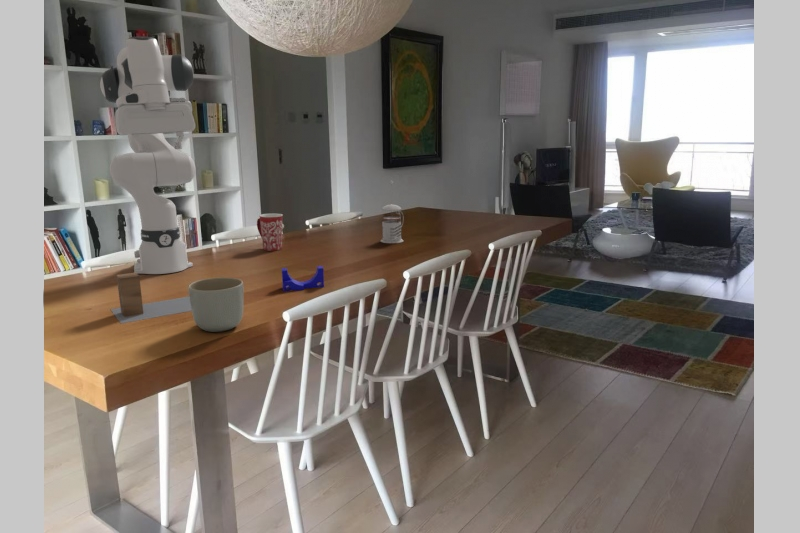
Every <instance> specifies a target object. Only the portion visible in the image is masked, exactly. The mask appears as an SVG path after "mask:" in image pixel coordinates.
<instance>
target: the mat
mask: <svg viewBox="0 0 800 533" xmlns="http://www.w3.org/2000/svg"><path fill="white" fill-rule="evenodd" d="M142 304H143V313H144V314H139V315H134V316H128V317H124V316H123V314H122V313H121V307H115V308H111V309H110V311H111V312H112V313H113V315H114V316H115V318H116V319H117V320H118V322H119V323H120V324H126V323H131V322H137V321H141V320H142V321H144V320H147V319H154V318H155V319H156V318H159V317H165V316H170V315H175V314H181V313H189V312H192V309H191V304H190V298H189V295H188V296H183V297H178V298H172V299H171V298H169V299H164V300H160V301H153V302H147V303H142Z"/></svg>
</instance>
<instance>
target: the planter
mask: <svg viewBox="0 0 800 533" xmlns="http://www.w3.org/2000/svg"><path fill="white" fill-rule="evenodd" d="M187 287H188V288H187V290H188V296H189V298H190V304H191V309H192V311H191V313H192V317H193V321H194V323H195V325H196V327H197V326H198V328H200V329H201V330H203V331H206V332H209V333H210V332H211V333H220V332H225V331H226V332H227V331H230V330H232V329H234V328H235V327H237V326H238V325H239V324H240V322H241V321H242V319H243V315H244V282H243V280H242V279H241V278H236V277H224V276H223V277H222V276H221V277H220V276H219V277H211V278H204V279H199V280H195V281H192V282H191V283H190V284H189V285H188V286H187Z"/></svg>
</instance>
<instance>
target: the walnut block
mask: <svg viewBox="0 0 800 533" xmlns="http://www.w3.org/2000/svg"><path fill="white" fill-rule="evenodd" d="M116 282H117V289H118V298H119V306H120V307H119V308H121V313H122V314H123V316H124V317H128V316H134V315H139V314H144V313H143V304H144V303H143V297H142V287H141V279H140V275H139V274H137V273H134V272H131V273H129V272H128V273H121V274H116Z"/></svg>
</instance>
